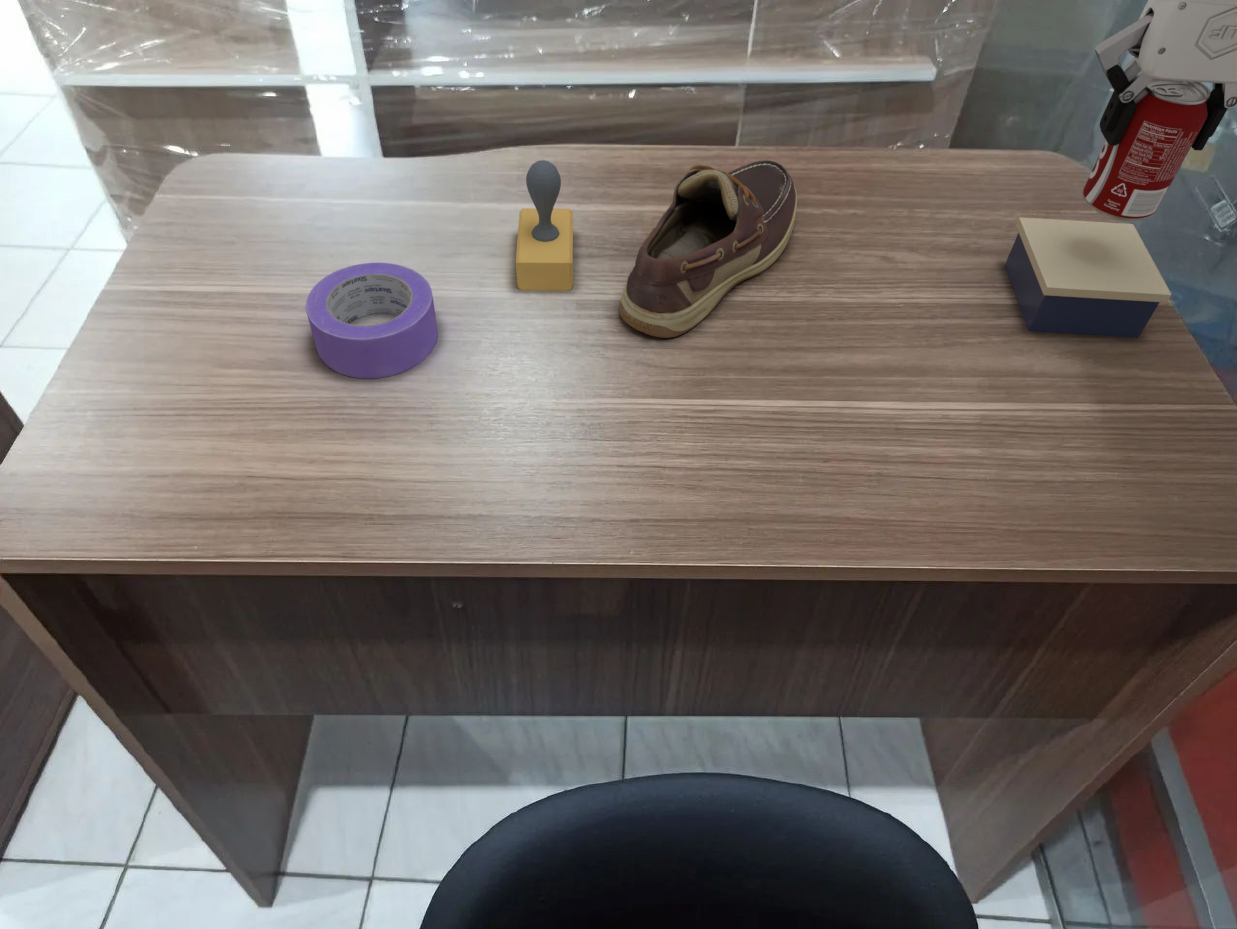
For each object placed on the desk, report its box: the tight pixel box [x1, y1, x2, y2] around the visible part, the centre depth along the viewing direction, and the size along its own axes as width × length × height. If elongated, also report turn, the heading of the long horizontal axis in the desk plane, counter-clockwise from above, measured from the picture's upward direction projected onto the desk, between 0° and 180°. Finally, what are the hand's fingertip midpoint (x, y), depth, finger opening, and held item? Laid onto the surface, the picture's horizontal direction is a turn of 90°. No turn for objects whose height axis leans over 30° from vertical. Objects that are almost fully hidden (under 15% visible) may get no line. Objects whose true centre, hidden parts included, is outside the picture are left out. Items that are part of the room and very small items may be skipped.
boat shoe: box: [618, 159, 798, 339], centre depth 95 cm, size 30×11×11 cm, turn 144°
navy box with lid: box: [1004, 216, 1173, 339], centre depth 94 cm, size 12×12×6 cm
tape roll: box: [305, 262, 439, 380], centre depth 87 cm, size 12×12×5 cm
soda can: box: [1082, 79, 1211, 222], centre depth 83 cm, size 7×7×12 cm
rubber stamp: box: [515, 159, 574, 291], centre depth 93 cm, size 10×6×12 cm, turn 2°
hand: (1150, 138), depth 82 cm, fingers closed on soda can, 6 cm apart
